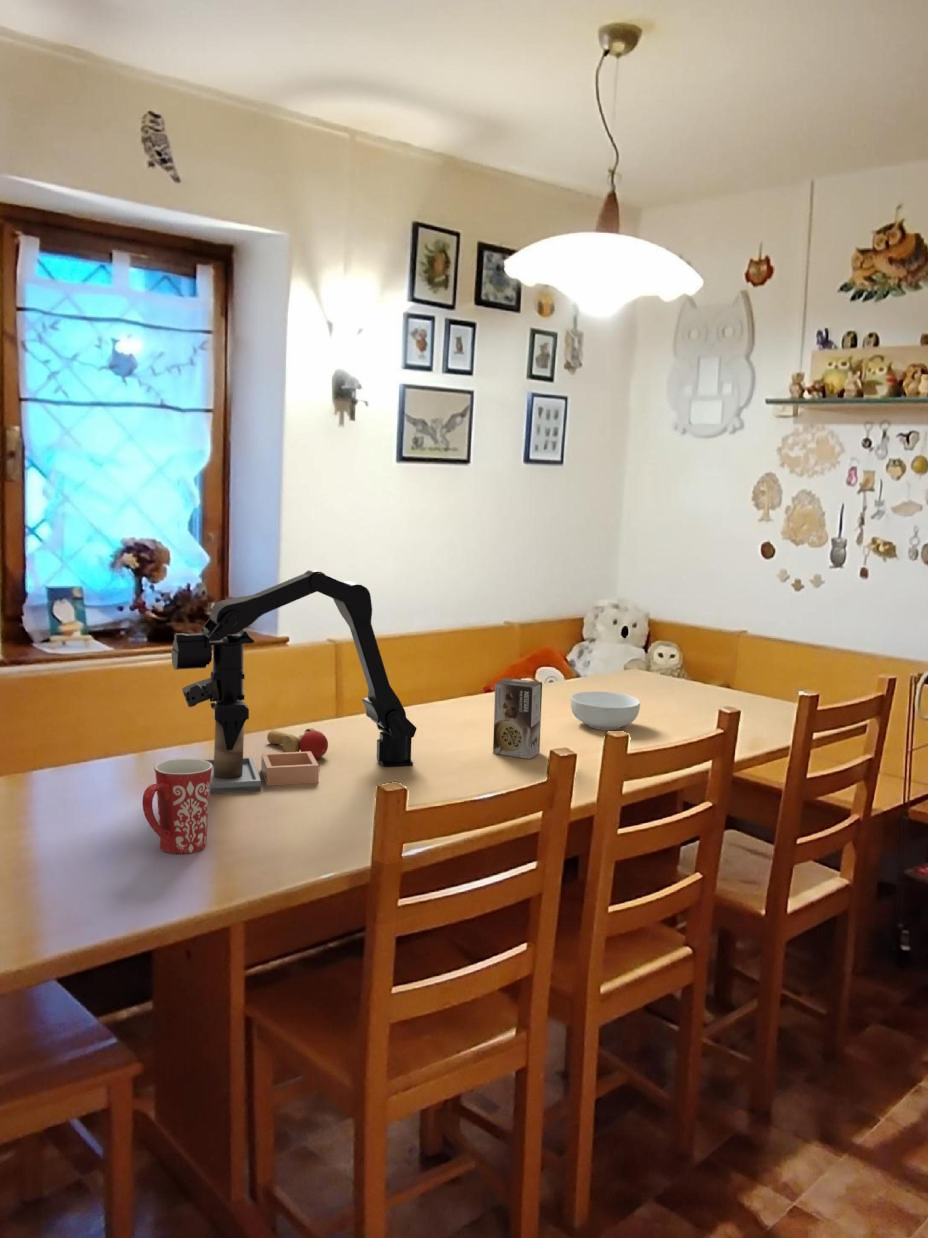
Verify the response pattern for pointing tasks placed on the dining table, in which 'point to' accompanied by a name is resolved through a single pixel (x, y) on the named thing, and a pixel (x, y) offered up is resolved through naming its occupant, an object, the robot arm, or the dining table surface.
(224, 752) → the walnut peg
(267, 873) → the dining table surface
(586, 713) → the cereal bowl
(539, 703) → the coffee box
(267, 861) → the dining table surface
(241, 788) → the grey tray
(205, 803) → the mug
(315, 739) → the kendama
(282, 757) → the pink rectangular frame
